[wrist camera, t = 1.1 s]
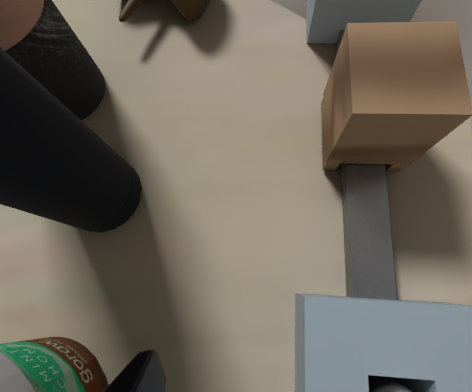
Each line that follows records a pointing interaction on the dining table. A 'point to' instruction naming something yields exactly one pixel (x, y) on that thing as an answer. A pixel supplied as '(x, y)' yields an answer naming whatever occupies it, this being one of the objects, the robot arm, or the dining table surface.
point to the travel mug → (51, 53)
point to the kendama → (188, 4)
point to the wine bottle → (58, 159)
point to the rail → (367, 229)
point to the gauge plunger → (386, 385)
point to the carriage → (393, 93)
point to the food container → (49, 367)
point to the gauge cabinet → (381, 344)
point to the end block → (352, 15)
